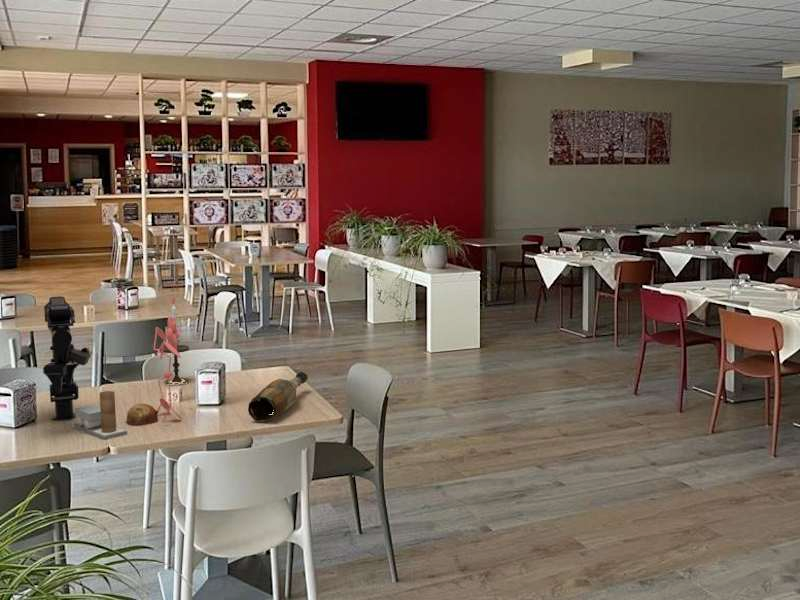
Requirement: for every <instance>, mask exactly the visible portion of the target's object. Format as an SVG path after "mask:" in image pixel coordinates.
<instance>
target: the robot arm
mask: <svg viewBox="0 0 800 600" xmlns="http://www.w3.org/2000/svg"><path fill="white" fill-rule="evenodd" d="M48 298H49V301H48V302H47V303H46V304H45V305H44V306H43V309H44V310H43V311H44V323H46V325H47V330H49V332H50V335H51V346H50V347H49V350H50V351H52V358H51V359H50V362H49V363H47V364H45V365H44V366H43V367H42V372H43V374H44V375H45V376H46V377H47V378H48V380H49V381H50V383H51V384H49V397H50V403H53V402H54V409H55V413H54V414H55V415H54V416H53V417H51V419H52V420H72V419H73V418H74V417H76V416H75V412H74V401H77V400H78V399H79V398H80V396H79V386H78V385H77V383H76V382H75V381H74V373H75V370H76V368H78V366H79V365H81V366H86V364H88V363H89V359H90V358H91V357H92V356H91V352H90V349H89V347H85V346H84V347H83V348H81V349H76V348H75V345H74V343H72V341H73V336H72V334H71V328H70V327H73V326H74V325H75V323H76V318H75V317H76V316H75V310H74V309H73V307H72V306H71V305H70V303H68V302H67V301H66V299H65V298H66V297H64V296H61V295H60V296H51V297H48Z"/></svg>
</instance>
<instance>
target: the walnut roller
mask: <svg viewBox="0 0 800 600" xmlns="http://www.w3.org/2000/svg"><path fill="white" fill-rule="evenodd" d="M99 406H100V411H101V429H102V432H103V433H111V432H115V431H116V427H117V418H116V417H117V416H116V415H117V413H116V396H115V391H114V390H105V391H104V390H103V391H101V392H99Z"/></svg>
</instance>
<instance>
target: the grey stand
mask: <svg viewBox="0 0 800 600" xmlns="http://www.w3.org/2000/svg"><path fill="white" fill-rule="evenodd" d="M73 411H74V413H75V416H74V417H77V418H76V423H74V424H72V425H73V429H76V430H78V431H81V432H83V433H85V434H87V435H88V434H89V435H91V436H93V437H96V438H98V439H100V440H103V439H104V441H105V440H109V438H110V439H113V438H112V437H114V438H117V437H116V436H118V437H121V436H120V435H122V436H126V435H128V431H127V430H125V429H123V428H119V427H117V426H116V431H115V432H111V433H103V432H102V429H101V411H100V405H97V404H95V403H94V404H89V405H85V406H79V407H75V408H74V407H73ZM125 434H126V435H125Z"/></svg>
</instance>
